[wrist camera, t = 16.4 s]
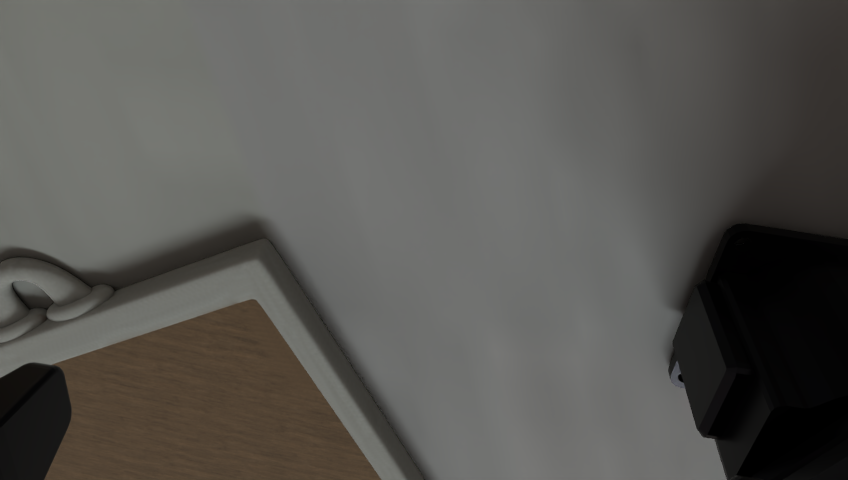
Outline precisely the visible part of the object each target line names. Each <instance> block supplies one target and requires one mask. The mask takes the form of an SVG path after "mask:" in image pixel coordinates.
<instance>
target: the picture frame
mask: <svg viewBox="0 0 848 480" xmlns="http://www.w3.org/2000/svg"><path fill="white" fill-rule="evenodd" d="M22 280H23V281H28V282H31V283H33V284H35V285H37V286H38V287H39V288H41V289H42V290H43V291H44V292H45V293H46V294H47V295H48V296H49V297H50V298H51V299H52V300H53V301H54V303H53V304H52V305H51V306H50V307H49V308H48V310H46V309H44V308H33V309H30V310H29V309H28V308H27V307H26V306H25V304H24V303H23V302H22V301H21V300H20V299H19V297H18V296H17V295H16V293H15V291H14V290H13V287H12V282H14V281H22ZM31 362H36V363H43V364H49V365H55V366H58V367H60V368H61V369H62V370H63V372H64V375H65V379H66V384H67V388H68V393H69V397H70V402H71V407H72V416H71V421H70V424H69V427H68V429H67V431H66V433H65V436H64V438H63V440H62V442H61V444H60V447H59V449H58V451H57V453H56V455H55V457H54V460H53V462H52V464H51V466H50V468H49V471H48V473H47V475H46V477H45V479H44V480H425V479H424V477H423V476H422V474H421V473H420V471H419V470H418V468H417V467H416V465H415V464H414V462H413V461H412V459H411V457H410V456H409V454H408V453H407V451H406V450H405V448H404V447H403V445H402V444H401V442H400V440H399V439H398V437H397V436H396V434H395V433H394V431H393V430H392V428H391V427H390V425H389V424H388V422H387V420H386V419H385V417H384V416H383V414H382V413H381V411H380V410H379V408H378V407H377V405H376V403H375V402H374V400H373V399H372V397H371V396H370V394H369V393H368V391H367V390H366V388H365V386H364V385H363V383H362V382H361V380H360V379H359V377H358V376H357V374H356V373H355V371H354V370H353V368H352V366H351V365H350V363H349V362H348V360H347V359H346V357H345V356H344V354H343V353H342V351H341V349H340V348H339V346H338V345H337V343H336V342H335V340H334V339H333V337H332V336H331V334H330V333H329V331H328V329H327V328H326V326H325V325H324V323H323V322H322V320H321V319H320V317H319V316H318V314H317V312H316V311H315V309H314V308H313V306H312V305H311V303H310V302H309V300H308V299H307V297H306V296H305V294H304V292H303V291H302V289H301V288H300V286H299V285H298V283H297V282H296V280H295V279H294V277H293V275H292V274H291V272H290V271H289V269H288V268H287V266H286V265H285V263H284V262H283V260H282V259H281V257H280V256H279V254H278V253H277V251H276V250H275V248H274V247H273V245H272V244H271V243H270V241H269V240H268V239H260V240H257V241H254V242H251V243H248V244H245V245H242V246H239V247H236V248H234V249H231V250H228V251H225V252H222V253H220V254H217V255H214V256H211V257H208V258H206V259H203V260H200V261H197V262H194V263H192V264H189V265H186V266H183V267H180V268H178V269H175V270H172V271H169V272H166V273H164V274H161V275H158V276H155V277H152V278H150V279H147V280H144V281H141V282H138V283H136V284H133V285H130V286H127V287H124V288H122V289H119V290H116V291H114V289H113V288H112V287H111V286H109V285H105V284H101V285H96V286H94V287H92V288H90V287H89V286H88V285H86V284H85V283H83V282H82V281H81V280H79V279H78V278H76V277H75V276H73V275H72V274H70V273H68V272H67V271H65V270H63V269H61V268H59V267H57V266H55V265H53V264H50V263H48V262H45V261H42V260H38V259H33V258H27V257H15V258H11V259H6V260H4V261H2V262H1V263H0V378H1V377H3V376H4V375H6V374H8V373H10V372H12V371H13V370H15V369H17V368H19V367H20V366H22V365H24V364H27V363H31Z"/></svg>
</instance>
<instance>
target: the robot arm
mask: <svg viewBox="0 0 848 480" xmlns="http://www.w3.org/2000/svg"><path fill="white" fill-rule="evenodd" d="M741 238H748V240H747V241H746V242H745V243H743V244H739V245H737V244H735V243H736V241H737V240H739V239H741ZM673 347H674V350H675V353H674V356H673V358H672V360H671V363H670V365H669V369H668V372H669V376H670V379H671V381H672V383H673V384H674V385H675V386H678V387H681V388H685V389H686V393H687V396H688V400H689V403H690V407H691V410H692V414H693V417H694V421H695V424H696V428H697V430H698V431H699V432H700V434H701V435H702V436H703V437H706V438H712V439H715V442H716V445H717V449H718V452H719V455H720V459H721V462H722V465H723V468H724V472H725V475H726V478H727V480H848V239H841V238H835V237H828V236H822V235H815V234H809V233H802V232H796V231H789V230H783V229H776V228H770V227H763V226H757V225H750V224H737V225H734V226H732V227H731V228H729V229H728V230H727V231H726V232H725V234H724V235H723V238H722V240H721V243H720V245H719V247H718V250H717V252H716V255H715V257H714V259H713V262H712V264H711V267H710V269H709V271H708V274H707V276H706V279H705V281H702V282H700V283H699V284H698V285H696V286H695V288H694V291H693V293H692V296H691V298H690V300H689V303H688V305H687V308H686V310H685V313H684V315H683V318H682V320H681V322H680V325H679V327H678V330H677V332H676V335H675V337H674V340H673ZM680 373H681V374H680ZM71 416H72V407H71V402H70V397H69V393H68V388H67V384H66V379H65V375H64V372H63V370H62V369H61V368H60V367H58V366H55V365H49V364H43V363H36V362H31V363H27V364H24V365H22V366H20V367H19V368H17V369H15V370H13V371H12V372H10V373H8V374H6V375H4V376H3V377H1V378H0V480H44V479H45V477H46V475H47V473H48V471H49V468H50V466H51V464H52V462H53V460H54V457H55V455H56V453H57V451H58V449H59V447H60V444H61V442H62V440H63V438H64V436H65V433H66V431H67V429H68V427H69V424H70V421H71Z"/></svg>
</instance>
